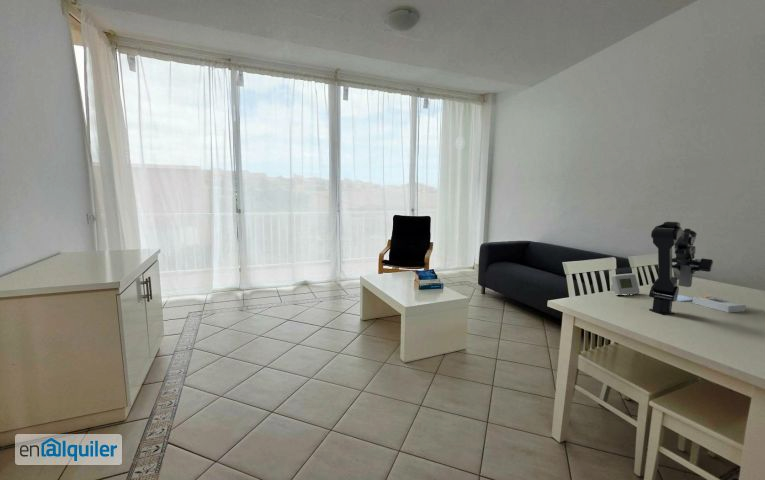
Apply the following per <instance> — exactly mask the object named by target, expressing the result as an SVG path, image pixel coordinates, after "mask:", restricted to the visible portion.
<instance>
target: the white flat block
mask: <svg viewBox="0 0 765 480" xmlns="http://www.w3.org/2000/svg"><path fill="white" fill-rule="evenodd" d="M692 298H693V301H691V302H692V304H696V305H700V306H703V307H706V308H710V309H714V310H717V311H722V312H724V313H736V312H737V313H738V312H739V313H741V312H745V311H746V306H747V305H746V304H745V303H741V302H736V301H732V300H728V299H725V298H724V299H723V298H720V297H716V296H712V295H706V294H705V295H704V294H703V295H698V296H693V297H692Z"/></svg>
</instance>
